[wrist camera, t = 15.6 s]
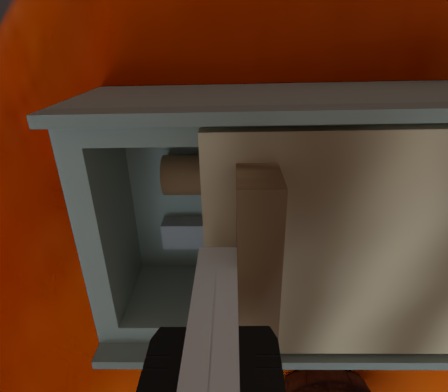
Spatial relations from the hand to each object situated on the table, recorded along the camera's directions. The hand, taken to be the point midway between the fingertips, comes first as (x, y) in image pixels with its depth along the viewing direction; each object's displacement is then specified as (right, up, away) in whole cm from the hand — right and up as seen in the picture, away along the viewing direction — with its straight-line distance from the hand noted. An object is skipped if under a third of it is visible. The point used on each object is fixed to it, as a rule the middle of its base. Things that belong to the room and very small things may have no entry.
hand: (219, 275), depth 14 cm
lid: (+10, +1, +2) cm, 10 cm away
